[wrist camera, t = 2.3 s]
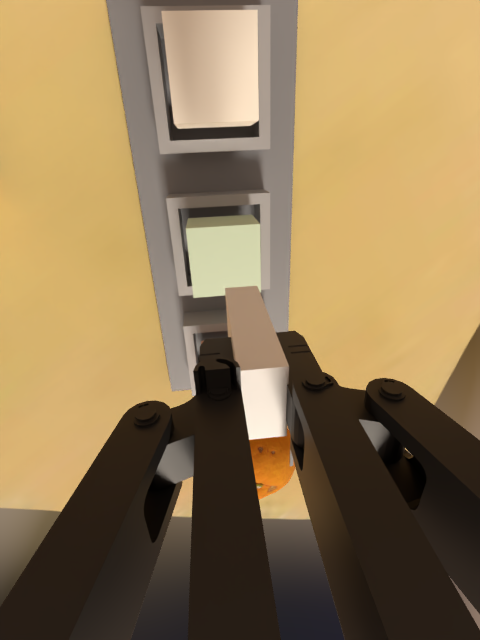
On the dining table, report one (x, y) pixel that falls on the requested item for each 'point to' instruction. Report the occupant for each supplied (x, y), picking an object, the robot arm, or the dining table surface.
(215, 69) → the button ivory
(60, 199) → the dining table surface
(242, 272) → the button sage
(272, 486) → the fruit
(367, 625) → the robot arm
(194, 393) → the button board
